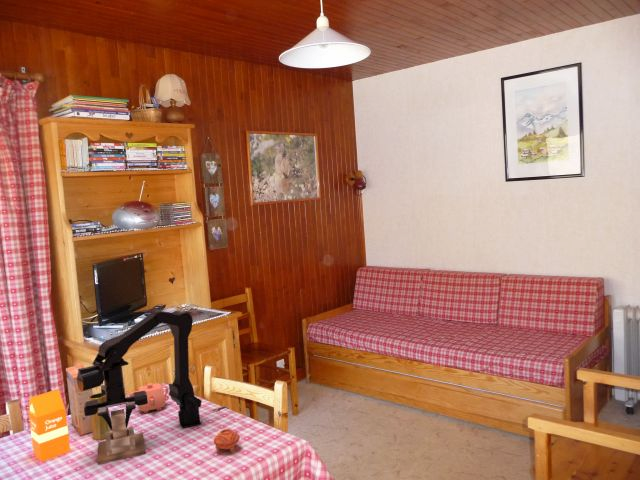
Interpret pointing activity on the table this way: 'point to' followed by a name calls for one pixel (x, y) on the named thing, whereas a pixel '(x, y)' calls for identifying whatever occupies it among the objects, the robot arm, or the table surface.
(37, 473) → the table surface
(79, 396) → the cracker box
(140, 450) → the well
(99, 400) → the vase
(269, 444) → the table surface
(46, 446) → the orange juice
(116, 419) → the peg
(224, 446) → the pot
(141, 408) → the teapot
